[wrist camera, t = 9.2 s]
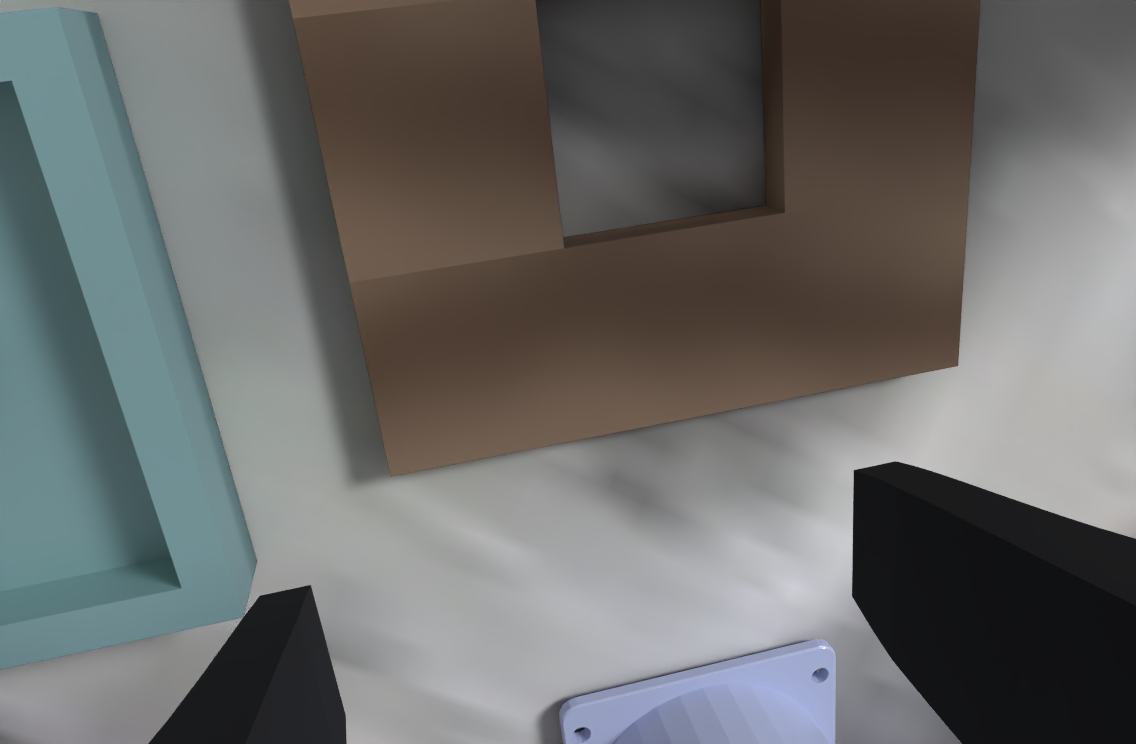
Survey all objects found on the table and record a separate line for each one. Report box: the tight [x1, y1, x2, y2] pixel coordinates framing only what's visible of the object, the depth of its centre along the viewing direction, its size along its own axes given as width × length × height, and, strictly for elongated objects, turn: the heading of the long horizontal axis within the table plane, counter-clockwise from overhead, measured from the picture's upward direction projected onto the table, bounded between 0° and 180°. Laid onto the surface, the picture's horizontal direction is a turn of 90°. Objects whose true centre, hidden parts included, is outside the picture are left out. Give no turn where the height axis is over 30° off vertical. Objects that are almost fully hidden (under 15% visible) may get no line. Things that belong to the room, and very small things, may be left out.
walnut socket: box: [289, 0, 980, 477], centre depth 18 cm, size 14×14×1 cm
